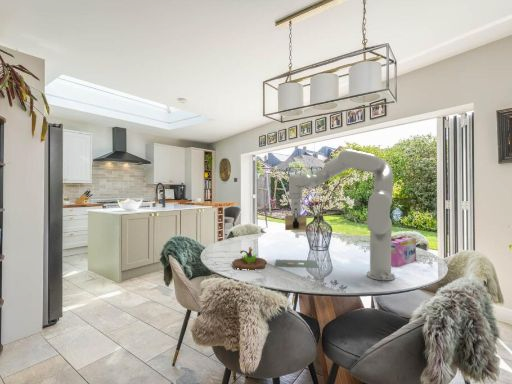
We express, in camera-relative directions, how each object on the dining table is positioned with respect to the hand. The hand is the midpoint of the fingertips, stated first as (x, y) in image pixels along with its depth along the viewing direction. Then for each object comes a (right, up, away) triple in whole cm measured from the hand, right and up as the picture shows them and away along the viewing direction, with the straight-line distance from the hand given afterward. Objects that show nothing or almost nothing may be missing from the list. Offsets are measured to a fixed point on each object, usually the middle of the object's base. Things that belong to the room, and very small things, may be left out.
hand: (295, 227), depth 158 cm
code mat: (0, -21, 0) cm, 21 cm away
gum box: (+62, -21, +2) cm, 65 cm away
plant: (-27, -22, -2) cm, 35 cm away
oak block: (0, -1, 0) cm, 1 cm away
